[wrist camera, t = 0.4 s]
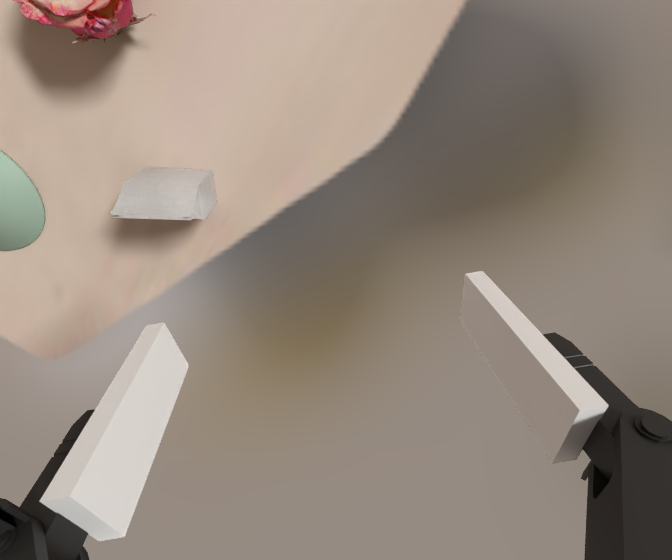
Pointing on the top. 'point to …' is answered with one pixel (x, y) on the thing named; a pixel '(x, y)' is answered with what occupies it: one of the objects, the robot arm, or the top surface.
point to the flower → (83, 16)
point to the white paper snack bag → (167, 194)
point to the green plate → (18, 207)
